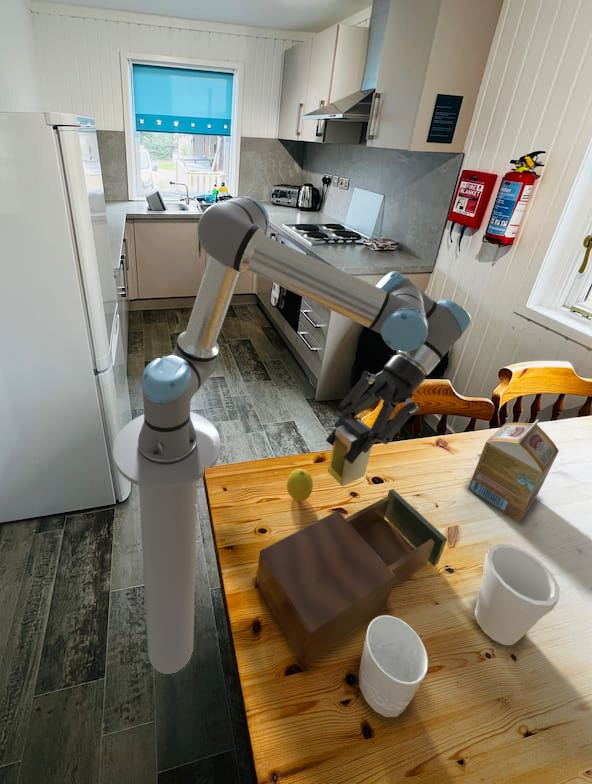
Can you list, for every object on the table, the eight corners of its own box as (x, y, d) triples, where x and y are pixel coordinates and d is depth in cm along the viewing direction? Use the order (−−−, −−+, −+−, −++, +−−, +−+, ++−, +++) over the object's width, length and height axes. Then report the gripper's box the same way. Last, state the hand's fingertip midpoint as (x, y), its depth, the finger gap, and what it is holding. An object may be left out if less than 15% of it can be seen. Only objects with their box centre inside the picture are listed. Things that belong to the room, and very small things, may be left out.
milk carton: (486, 468, 98) (511, 406, 91) (535, 498, 91) (567, 432, 83) (468, 488, 92) (493, 423, 85) (519, 521, 85) (551, 453, 77)
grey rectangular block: (327, 471, 86) (336, 422, 81) (349, 461, 89) (360, 414, 84) (342, 487, 82) (352, 437, 77) (365, 475, 85) (376, 427, 80)
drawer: (390, 509, 85) (396, 486, 82) (442, 560, 75) (451, 536, 72) (327, 544, 77) (332, 520, 74) (376, 607, 67) (384, 581, 64)
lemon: (287, 509, 85) (291, 481, 81) (283, 487, 90) (287, 461, 87) (312, 509, 85) (317, 481, 82) (307, 488, 90) (311, 461, 87)
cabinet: (331, 541, 78) (338, 510, 75) (385, 608, 67) (395, 576, 64) (256, 582, 70) (259, 550, 67) (303, 667, 59) (311, 633, 56)
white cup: (380, 644, 63) (393, 605, 59) (422, 702, 56) (441, 663, 52) (342, 672, 59) (354, 632, 55) (384, 738, 53) (400, 698, 49)
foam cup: (507, 595, 70) (532, 545, 65) (543, 658, 62) (576, 606, 57) (454, 592, 70) (475, 542, 65) (483, 654, 62) (510, 603, 57)
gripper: (454, 396, 77) (378, 488, 76) (383, 354, 91) (318, 431, 90) (444, 379, 73) (363, 477, 71) (371, 338, 87) (302, 419, 86)
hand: (338, 451), depth 81 cm, fingers closed on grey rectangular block, 5 cm apart
